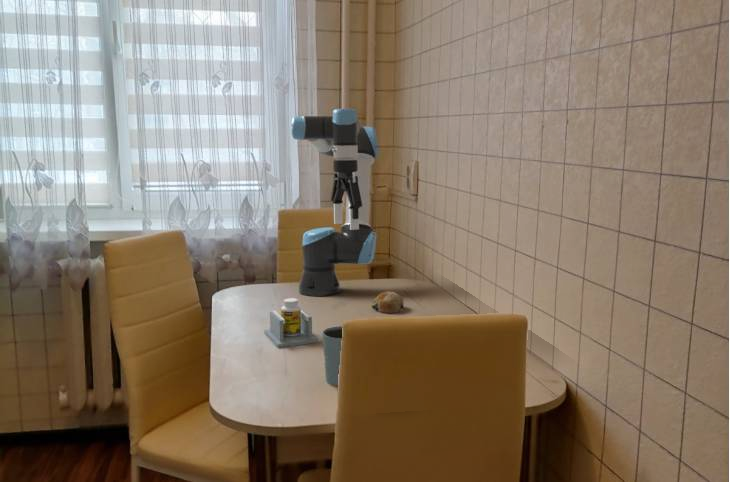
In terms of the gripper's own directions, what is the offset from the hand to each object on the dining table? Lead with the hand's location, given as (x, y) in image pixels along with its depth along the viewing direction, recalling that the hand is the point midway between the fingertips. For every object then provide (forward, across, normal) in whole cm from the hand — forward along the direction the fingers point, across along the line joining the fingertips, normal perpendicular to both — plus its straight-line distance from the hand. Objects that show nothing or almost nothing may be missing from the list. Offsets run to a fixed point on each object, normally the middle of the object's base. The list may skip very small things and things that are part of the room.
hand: (346, 226), depth 210 cm
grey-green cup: (+29, +52, -22) cm, 63 cm away
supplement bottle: (+28, +16, -24) cm, 40 cm away
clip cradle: (+29, +16, -24) cm, 41 cm away
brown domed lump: (+29, +1, +14) cm, 32 cm away
